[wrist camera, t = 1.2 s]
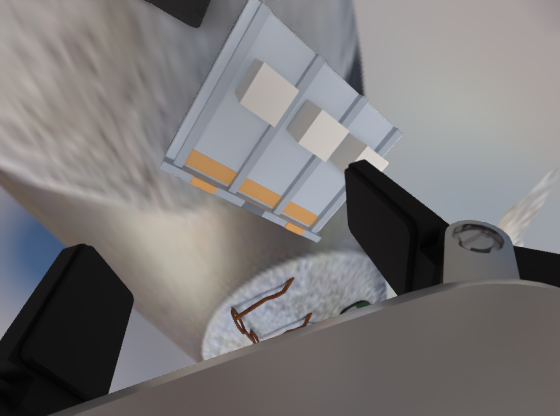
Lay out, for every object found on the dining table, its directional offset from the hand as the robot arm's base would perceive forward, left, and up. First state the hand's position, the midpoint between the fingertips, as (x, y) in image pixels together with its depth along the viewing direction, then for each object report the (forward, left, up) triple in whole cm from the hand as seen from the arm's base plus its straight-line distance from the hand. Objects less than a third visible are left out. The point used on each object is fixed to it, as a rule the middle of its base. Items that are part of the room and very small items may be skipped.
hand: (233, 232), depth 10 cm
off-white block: (-4, +10, -23) cm, 25 cm away
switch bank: (-1, +10, -25) cm, 26 cm away
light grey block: (-4, +3, -23) cm, 23 cm away
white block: (-4, +17, -23) cm, 28 cm away
